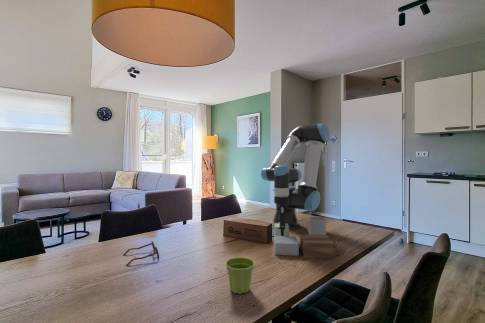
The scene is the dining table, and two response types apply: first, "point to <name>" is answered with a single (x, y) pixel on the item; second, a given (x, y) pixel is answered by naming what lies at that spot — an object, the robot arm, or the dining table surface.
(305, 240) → the walnut plinth
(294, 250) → the slate block
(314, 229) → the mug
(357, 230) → the dining table surface
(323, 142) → the robot arm
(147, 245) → the glasses
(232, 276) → the plant pot
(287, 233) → the sage cube
